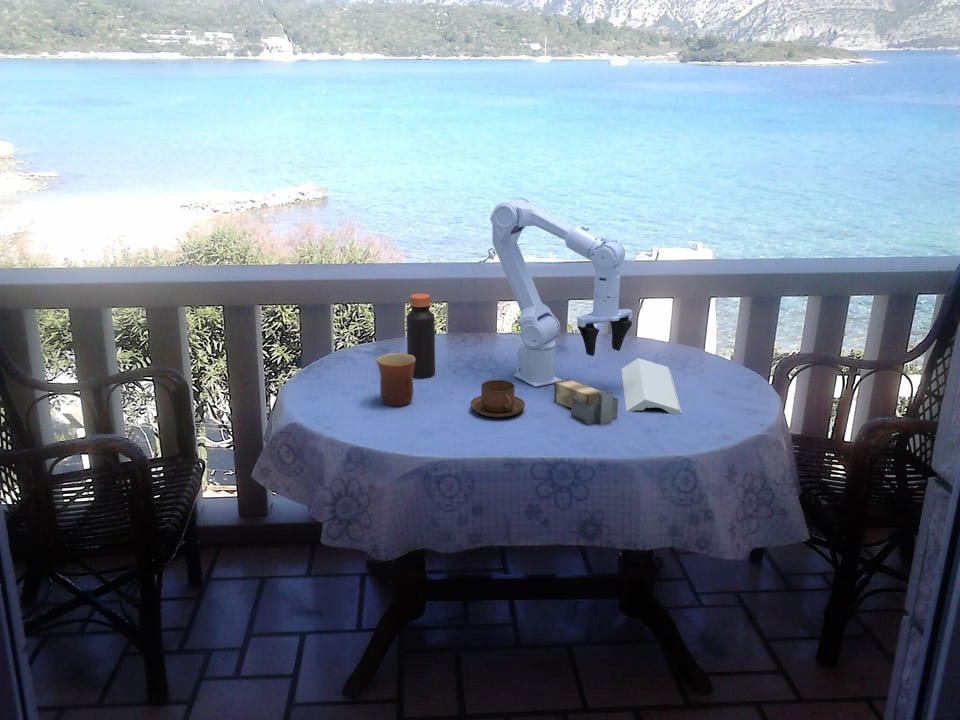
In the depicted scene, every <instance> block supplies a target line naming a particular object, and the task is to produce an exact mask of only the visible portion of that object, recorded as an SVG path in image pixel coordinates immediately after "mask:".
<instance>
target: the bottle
mask: <svg viewBox="0 0 960 720" xmlns="http://www.w3.org/2000/svg"><path fill="white" fill-rule="evenodd" d="M431 301H432V300H431V295H430V294H427V293H413V294H411V295H410V296H409V305H410V308H411V310H410V311H409V312H408V314H407V315H406V343H407V344H406V349H407V350H406V352H407V353H406V354H411V355H414V356H415V359H416V364H415V371H414V375H413V379H428V378H431V377H433V376H435V374H436V343H435V341H436V340H435V339H436V337H435V336H436V332H435V331H436V330H435V329H436V326H435V324H436V323H435V321H436V320H435V314H434V313H433V312H432V311H431V310H430V307H431Z"/></svg>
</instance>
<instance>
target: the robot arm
mask: <svg viewBox="0 0 960 720" xmlns="http://www.w3.org/2000/svg"><path fill="white" fill-rule="evenodd" d="M489 220H490V222H491V225H492V236H491V237H492V245H493V248H494V251H495V253H496V256H497V257H498V259H499V262H500V265H501V267H502V270H503V272H504V275H505V277H506V279H507V281H508V283H509V286H510V288H511V291H512V293H513V296H514V298H515V302H516V303H517V305H518V307H519V310H520V315H519V319H518V323H519V326H520V335H521V336H520V337H521V340H522V343H520V345H519V347H518V349H517V361H516V363H517V364H516V373H514V374H513V376H514V377H516V378H517V379H519V380H521V381H523V382H525V383H526V384H529V385H530V386H533V387H534V388H537V387H542V386H546V385H551V384H554V382H557V381H561V380H562V378H559V377H557V376H555V369H556V367H555V364H556V338H557V337H558V336H559V334H560V333H561V324H560V321H559V320H558V318H557V317H556V316H555V315H554V314H553V313H552V310H551V308H550V307H548V306H547V305H546V304H544V303H543V302H542V300H541V297H540V295H539V293H538V290H537V287H536V285H535V283H534V280H533V278H532V275H531V273H530V270H529V268H528V266H527V263H526V261H525V258H524V256H523V254H522V252H521V249H520V246H519V244H518V240H519V238H520V235H521V234H522V231H523V230H524V229H525V228H527V227H533V226H534V227H536V228H539V229H542V230H543V231H544V232H545V231H546V232H548V233H549V234H552V235H554V236H556V237H558V238H560V239H562V240H563V241H564V243H565V246H566V247H567V248H568V249H569V250H571V251H573V252H575V253H577V254H578V255H579V256H582V257H584V258H586V259H588V260H589V261H591V262H592V263H591V264H592V265H593V267H594V284H593V285H594V286H593V303H592V305H593V306H592V312H589V313H587V314H584V315H581V316H578V317H577V321H576V325H577V329H578V330H579V333H580V335H581V337H582V340H583V343H584V348H585V354H586V355H588V356H590V357H593V356H595V353H596V344H597V338H598V335H599V331H600V328H597V327H596V325H598V324H603V323H608V322H610V327H611V348H612V349H613V350H615V351H617V352H618V351H619V352H620V351H621V348H622V345H623V342H624V339H625V337H626V335H627V333H628V331H629V329H630V328H631V327H632V325H633V323H632V322H633V321H632V319H633V311H634V310H632V309H629V308H623V309H619V302H620V301H619V300H620V287H621V269H622V268H621V267H622V265H621V263H623V262H624V260H625V257H626V250H625V247H624V246H623V245H622V243H620V242H619V241H618V240H616V239H610V240H609V239H608V237H606V236H604V235H603V236H600V235H599V234H597V233H594V232H593V231H591V230H589V229H590V227H589V226H588V225H585V224H584V225H580V224H579V225H575V226H572V225H570V224H568V223H566V222H564V221H563V220H562V219H560V218H558V217H556V216H555V215H554V214H552V213H550V212H548V211H547V210H545V209H543V208H542V207H540V205H538V204H537V203H535V202H533V201H530V200H528V199H527V198H525V197H518V198H515V199H513V200H509V201H506V202H505V201H504V202H500V203H498V204H497V205H495V206H494V208H493V211H492V213H491V215H490V216H489Z"/></svg>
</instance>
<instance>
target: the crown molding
mask: <svg viewBox="0 0 960 720" xmlns="http://www.w3.org/2000/svg"><path fill="white" fill-rule="evenodd" d="M621 377H622V378H621V379H622V385H623V395H624V403H625V411H626V412H635V411H638V412H639V411H644V410H645V409H646V408H647V409H650V408H651V409H652V408H659V409H662V410H664V411H666V412H667V413H669V414H676V415H678V414H679V415H683V413H682V408H681V405H680V401H679V398H678V394H677V389H676V385H675V383H674V378H673V376H672V372H671V370H670V368H669V367H668V366H665V365H663V364H658V363H656V362H654V361H648V360H646V359H642V358H640V357H638V358H636V359H634V360H633V361H631V362H630V363H628V364H627V365H625V366H624V367H622V368H621Z"/></svg>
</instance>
